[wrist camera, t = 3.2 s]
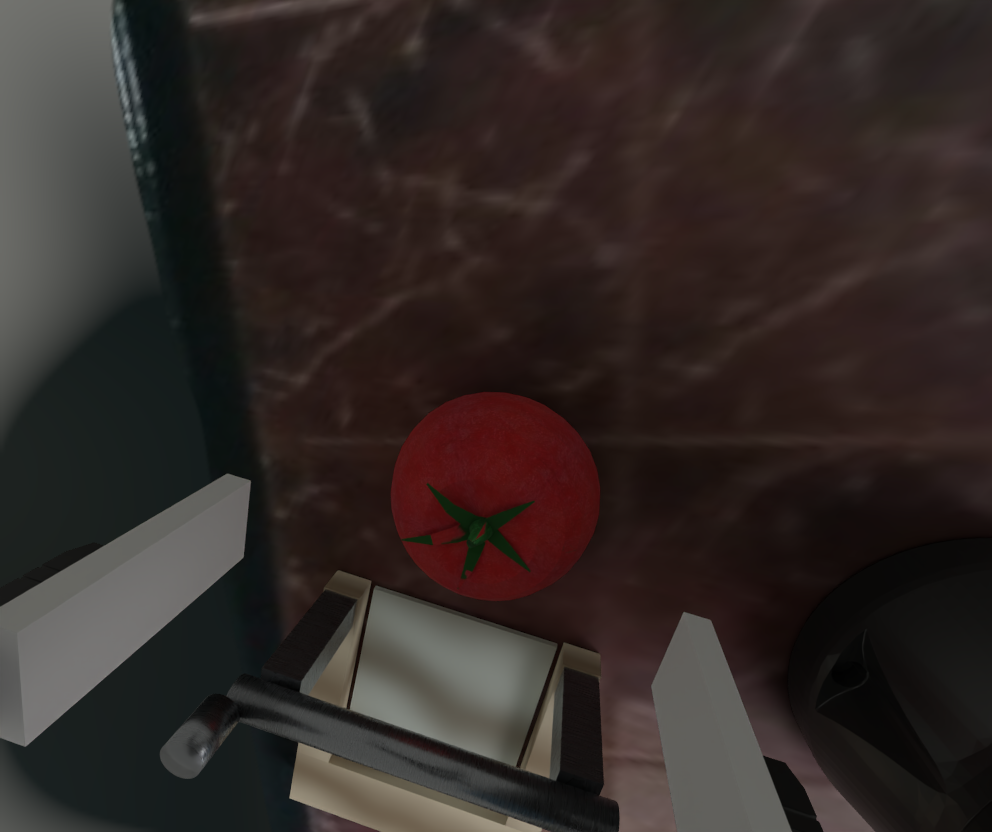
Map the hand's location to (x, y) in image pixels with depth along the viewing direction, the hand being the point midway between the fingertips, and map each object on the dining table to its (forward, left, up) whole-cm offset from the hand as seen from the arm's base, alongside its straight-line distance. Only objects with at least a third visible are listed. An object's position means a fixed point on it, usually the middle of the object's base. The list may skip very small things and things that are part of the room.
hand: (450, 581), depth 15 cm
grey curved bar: (+7, +7, -9) cm, 14 cm away
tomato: (0, 0, -11) cm, 11 cm away
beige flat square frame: (+12, +13, -11) cm, 20 cm away
